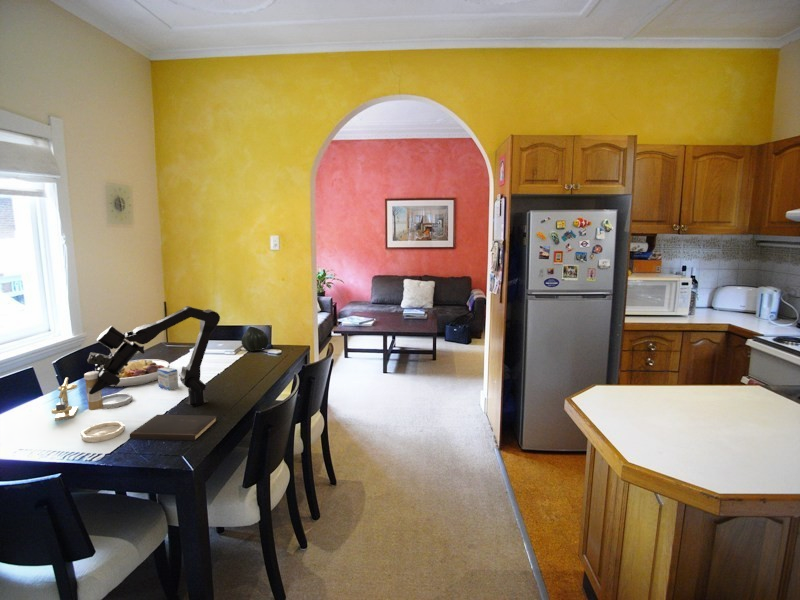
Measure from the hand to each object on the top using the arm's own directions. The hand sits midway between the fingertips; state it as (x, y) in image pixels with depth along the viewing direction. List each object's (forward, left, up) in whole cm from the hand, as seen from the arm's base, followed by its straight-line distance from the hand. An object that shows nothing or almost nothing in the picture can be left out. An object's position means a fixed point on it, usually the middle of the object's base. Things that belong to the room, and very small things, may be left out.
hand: (89, 391), depth 154 cm
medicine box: (+22, -35, -13) cm, 43 cm away
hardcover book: (-24, -19, -14) cm, 34 cm away
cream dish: (-9, -1, -13) cm, 16 cm away
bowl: (+48, -30, -14) cm, 58 cm away
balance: (+20, +3, -13) cm, 24 cm away
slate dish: (+20, -13, -13) cm, 27 cm away
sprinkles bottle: (0, -1, -7) cm, 7 cm away
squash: (+49, -95, -13) cm, 107 cm away
